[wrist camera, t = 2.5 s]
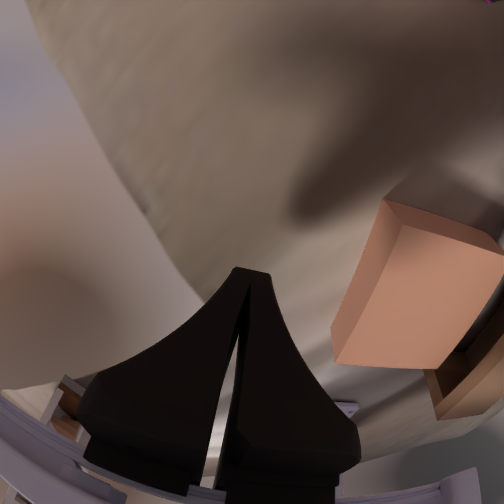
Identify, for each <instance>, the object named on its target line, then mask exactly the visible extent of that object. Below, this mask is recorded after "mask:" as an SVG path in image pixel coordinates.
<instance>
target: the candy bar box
mask: <svg viewBox="0 0 504 504" xmlns="http://www.w3.org/2000/svg"><path fill="white" fill-rule="evenodd" d="M485 1H486V2H487V3H493V2H496V1H500V0H485Z"/></svg>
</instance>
